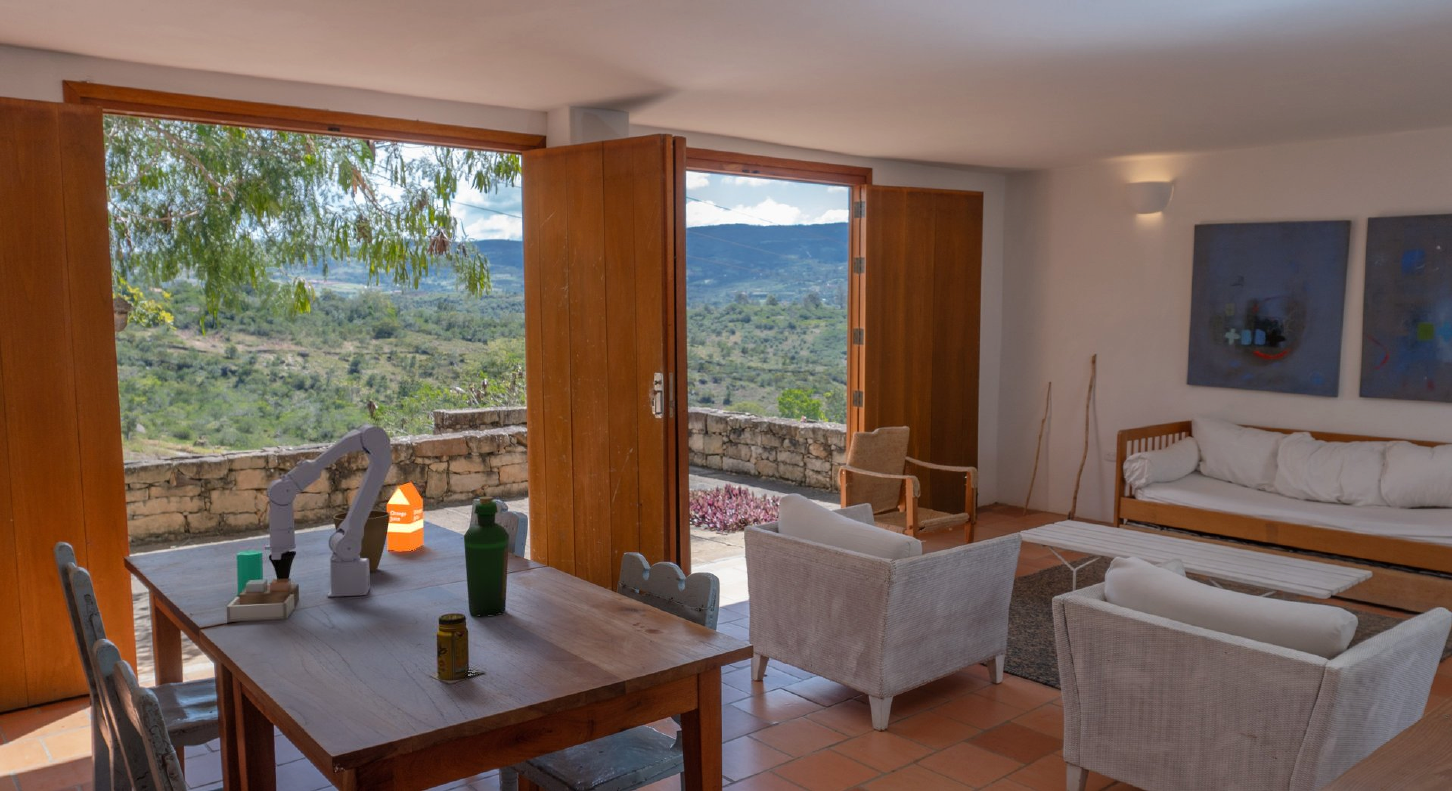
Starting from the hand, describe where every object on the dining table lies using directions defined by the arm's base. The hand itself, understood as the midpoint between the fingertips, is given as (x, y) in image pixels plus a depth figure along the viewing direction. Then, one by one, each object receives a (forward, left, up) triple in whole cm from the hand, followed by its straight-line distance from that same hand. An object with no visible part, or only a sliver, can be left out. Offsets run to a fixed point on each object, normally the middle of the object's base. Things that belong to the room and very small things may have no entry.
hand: (283, 581), depth 251 cm
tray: (+3, +12, -5) cm, 13 cm away
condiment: (-45, +63, -5) cm, 77 cm away
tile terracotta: (0, +3, -1) cm, 3 cm away
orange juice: (-24, -56, -5) cm, 61 cm away
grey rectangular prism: (+5, +3, -1) cm, 6 cm away
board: (+3, +3, -5) cm, 6 cm away
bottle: (-50, +20, -5) cm, 54 cm away
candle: (+10, -10, -5) cm, 15 cm away
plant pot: (-15, -29, -5) cm, 33 cm away
